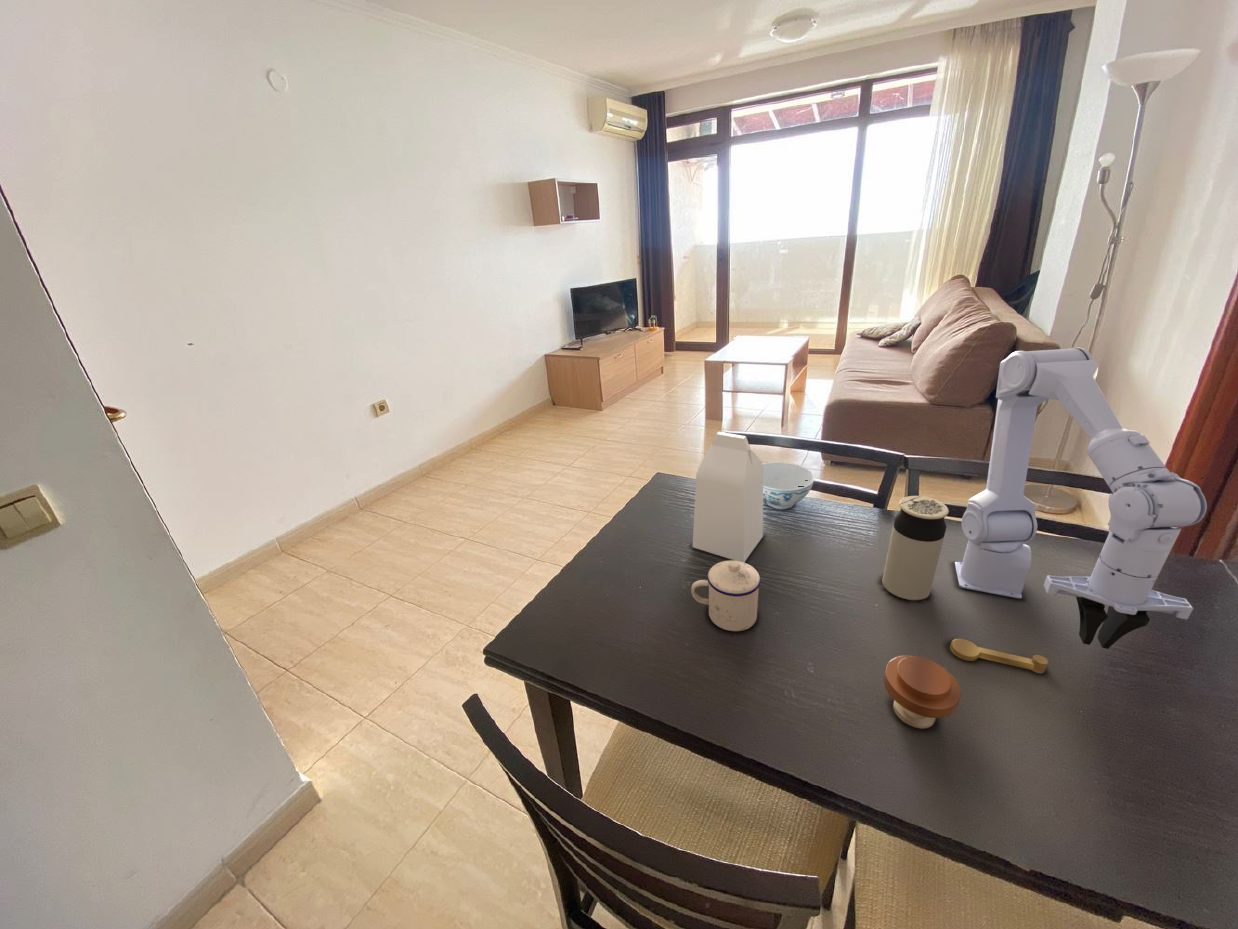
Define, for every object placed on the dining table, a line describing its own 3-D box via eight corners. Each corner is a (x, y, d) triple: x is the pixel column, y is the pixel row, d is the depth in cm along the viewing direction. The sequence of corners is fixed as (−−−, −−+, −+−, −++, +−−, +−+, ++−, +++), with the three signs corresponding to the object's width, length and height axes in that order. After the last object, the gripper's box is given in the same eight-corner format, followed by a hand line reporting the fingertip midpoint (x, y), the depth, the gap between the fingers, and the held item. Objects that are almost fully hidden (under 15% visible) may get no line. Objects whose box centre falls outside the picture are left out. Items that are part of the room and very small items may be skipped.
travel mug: (940, 595, 92) (962, 512, 84) (904, 606, 90) (923, 522, 83) (906, 570, 99) (923, 491, 91) (872, 579, 97) (887, 499, 90)
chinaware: (775, 524, 117) (777, 495, 114) (737, 497, 130) (738, 470, 126) (824, 507, 122) (828, 479, 119) (783, 483, 135) (785, 457, 131)
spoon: (1040, 661, 78) (1044, 652, 77) (1047, 680, 75) (1051, 670, 74) (948, 640, 83) (951, 631, 82) (951, 657, 80) (954, 647, 79)
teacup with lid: (757, 600, 94) (760, 549, 89) (759, 635, 86) (762, 582, 81) (693, 595, 97) (692, 546, 92) (689, 629, 89) (688, 577, 84)
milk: (692, 547, 111) (691, 440, 100) (714, 522, 120) (715, 421, 109) (743, 563, 105) (748, 450, 94) (763, 536, 113) (769, 429, 102)
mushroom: (947, 697, 73) (958, 660, 70) (954, 751, 66) (967, 712, 63) (878, 678, 77) (886, 642, 74) (878, 728, 70) (887, 690, 66)
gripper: (1067, 570, 65) (1037, 647, 71) (1222, 596, 59) (1175, 677, 65) (1052, 541, 71) (1025, 614, 77) (1192, 562, 65) (1152, 639, 71)
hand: (1093, 641), depth 71 cm, fingers closed
